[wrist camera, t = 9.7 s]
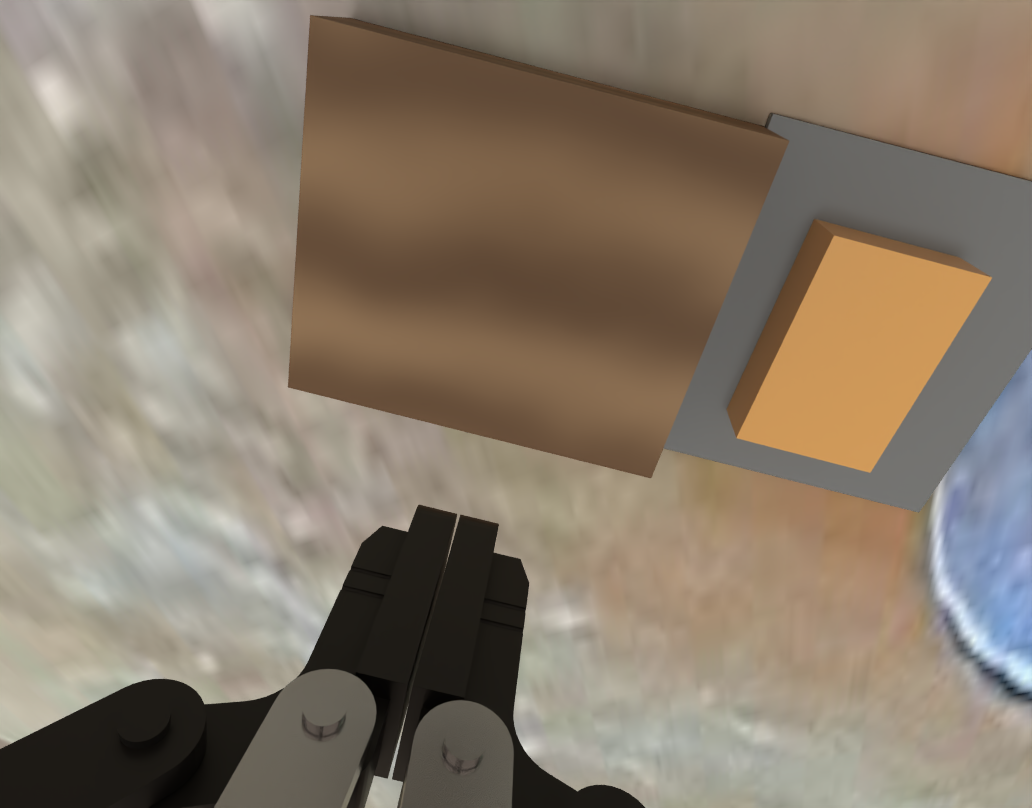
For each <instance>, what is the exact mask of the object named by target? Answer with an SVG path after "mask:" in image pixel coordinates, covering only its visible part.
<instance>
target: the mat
mask: <svg viewBox="0 0 1032 808" xmlns="http://www.w3.org/2000/svg"><path fill="white" fill-rule="evenodd" d="M765 128H767V129H769V130H771V131H773V132H774V133H776V134H778V135H780V136H782V137H784V138H785V139H787V140H789V143H788V146H787V148H786V151H785V153H784V156H783V158H782V161H781V163H780V165H779V168H778V170H777V173H776V175H775V178H774V180H773V182H772V185H771V187H770V190H769V192H768V195H767V197H766V199H765V202H764V204H763V207H762V209H761V212H760V214H759V217H758V219H757V221H756V224H755V226H754V229H753V231H752V234H751V236H750V238H749V241H748V243H747V246H746V248H745V251H744V253H743V255H742V258H741V260H740V263H739V265H738V268H737V270H736V273H735V275H734V277H733V280H732V282H731V285H730V287H729V290H728V292H727V294H726V297H725V299H724V302H723V304H722V307H721V309H720V311H719V314H718V316H717V319H716V321H715V324H714V326H713V329H712V331H711V333H710V336H709V338H708V341H707V343H706V346H705V348H704V350H703V353H702V355H701V358H700V360H699V363H698V365H697V367H696V370H695V372H694V375H693V377H692V380H691V382H690V385H689V387H688V389H687V392H686V394H685V397H684V399H683V402H682V404H681V406H680V409H679V411H678V414H677V416H676V419H675V421H674V423H673V426H672V428H671V431H670V433H669V436H668V438H667V441H666V443H665V445H664V448H665V449H669V450H673V451H677V452H680V453H684V454H688V455H692V456H696V457H700V458H704V459H708V460H712V461H716V462H720V463H724V464H728V465H732V466H736V467H740V468H744V469H748V470H752V471H756V472H760V473H764V474H768V475H772V476H776V477H780V478H784V479H788V480H792V481H796V482H800V483H804V484H808V485H812V486H816V487H820V488H824V489H827V490H831V491H835V492H839V493H843V494H847V495H851V496H855V497H859V498H863V499H867V500H871V501H875V502H879V503H883V504H887V505H891V506H895V507H899V508H903V509H907V510H911V511H915V512H920V510H921V509H922V507H923V506H924V505H925V503H926V502H927V500H928V499H929V497H930V496H931V494H932V493H933V491H934V490H935V489H936V487H937V486H938V484H939V483H940V481H941V480H942V478H943V477H944V476H945V474H946V473H947V471H948V470H949V468H950V467H951V465H952V464H953V462H954V461H955V460H956V458H957V457H958V455H959V454H960V452H961V451H962V449H963V448H964V446H965V445H966V444H967V442H968V441H969V439H970V438H971V436H972V435H973V433H974V432H975V430H976V429H977V428H978V426H979V425H980V423H981V422H982V420H983V419H984V417H985V416H986V415H987V413H988V412H989V410H990V409H991V407H992V406H993V404H994V403H995V401H996V400H997V399H998V397H999V396H1000V394H1001V393H1002V391H1003V390H1004V388H1005V387H1006V385H1007V384H1008V383H1009V381H1010V380H1011V378H1012V377H1013V375H1014V374H1015V372H1016V371H1017V369H1018V368H1019V367H1020V365H1021V364H1022V362H1023V361H1024V359H1025V358H1026V356H1027V355H1028V354H1029V352H1030V351H1031V349H1032V181H1029V180H1025V179H1021V178H1017V177H1013V176H1010V175H1006V174H1002V173H998V172H994V171H991V170H987V169H983V168H979V167H975V166H972V165H968V164H964V163H960V162H956V161H953V160H949V159H945V158H941V157H937V156H933V155H930V154H926V153H922V152H918V151H914V150H911V149H907V148H903V147H899V146H895V145H892V144H888V143H884V142H880V141H876V140H873V139H869V138H865V137H861V136H857V135H853V134H850V133H846V132H842V131H838V130H834V129H831V128H827V127H823V126H819V125H815V124H812V123H808V122H804V121H800V120H796V119H793V118H789V117H785V116H781V115H777V114H773V113H770V116H769V118H768V121H767V124H766V126H765ZM814 219H817V220H821V221H825V222H828V223H832V224H836V225H840V226H843V227H847V228H851V229H855V230H858V231H862V232H866V233H870V234H873V235H877V236H881V237H885V238H888V239H892V240H896V241H900V242H903V243H907V244H911V245H915V246H918V247H922V248H926V249H930V250H933V251H937V252H941V253H945V254H948V255H952V256H956V257H960V258H961V259H963V260H964V261H966V262H968V263H969V264H971V265H973V266H974V267H976V268H978V269H979V270H981V271H982V272H984V273H986V274H987V275H989V276H991V277H992V279H991V281H990V282H989V284H988V285H987V287H986V289H985V290H984V292H983V293H982V295H981V297H980V298H979V300H978V301H977V303H976V305H975V306H974V308H973V309H972V311H971V313H970V314H969V316H968V317H967V319H966V321H965V322H964V324H963V325H962V327H961V329H960V330H959V332H958V333H957V335H956V337H955V338H954V340H953V341H952V343H951V345H950V346H949V348H948V349H947V351H946V353H945V354H944V356H943V357H942V359H941V361H940V362H939V364H938V365H937V367H936V369H935V370H934V372H933V373H932V375H931V377H930V378H929V380H928V381H927V383H926V385H925V386H924V388H923V389H922V391H921V393H920V394H919V396H918V397H917V399H916V401H915V402H914V404H913V405H912V407H911V409H910V410H909V412H908V413H907V415H906V417H905V418H904V420H903V421H902V423H901V425H900V426H899V428H898V429H897V431H896V433H895V434H894V436H893V437H892V439H891V441H890V442H889V444H888V445H887V447H886V449H885V450H884V452H883V453H882V455H881V457H880V458H879V460H878V461H877V463H876V465H875V466H874V468H873V469H872V471H871V473H869V472H865V471H861V470H857V469H854V468H850V467H846V466H842V465H838V464H834V463H830V462H827V461H823V460H819V459H815V458H811V457H807V456H803V455H799V454H796V453H792V452H788V451H784V450H780V449H776V448H772V447H768V446H765V445H761V444H757V443H753V442H749V441H745V440H741V439H738V438H736V436H735V433H734V430H733V427H732V424H731V421H730V419H729V416H728V413H727V410H726V409H727V407H728V405H729V403H730V401H731V398H732V396H733V394H734V392H735V390H736V388H737V385H738V383H739V381H740V379H741V377H742V374H743V372H744V370H745V368H746V366H747V364H748V361H749V359H750V357H751V355H752V353H753V351H754V348H755V346H756V344H757V342H758V340H759V338H760V335H761V333H762V331H763V329H764V327H765V325H766V322H767V320H768V318H769V316H770V314H771V312H772V309H773V307H774V305H775V303H776V301H777V299H778V296H779V294H780V292H781V290H782V288H783V285H784V283H785V281H786V279H787V277H788V275H789V272H790V270H791V268H792V266H793V264H794V262H795V259H796V257H797V255H798V253H799V251H800V249H801V246H802V244H803V242H804V240H805V238H806V236H807V233H808V231H809V229H810V227H811V225H812V223H813V220H814Z"/></svg>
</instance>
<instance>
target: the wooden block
mask: <svg viewBox="0 0 1032 808" xmlns="http://www.w3.org/2000/svg"><path fill="white" fill-rule="evenodd" d="M788 143H789V140H787V139H785V138H784V137H782V136H780V135H778V134H776V133H774V132H773V131H771V130H769V129H767V128H765V127H763V126H760V125H757V124H753V123H749V122H745V121H741V120H738V119H734V118H730V117H726V116H722V115H718V114H715V113H711V112H707V111H703V110H699V109H696V108H692V107H688V106H684V105H680V104H676V103H673V102H669V101H665V100H661V99H657V98H654V97H650V96H646V95H642V94H638V93H634V92H631V91H627V90H623V89H619V88H615V87H612V86H608V85H604V84H600V83H596V82H593V81H589V80H585V79H581V78H577V77H573V76H570V75H566V74H562V73H558V72H554V71H551V70H547V69H543V68H539V67H535V66H531V65H528V64H524V63H520V62H516V61H512V60H509V59H505V58H501V57H497V56H493V55H489V54H486V53H482V52H478V51H474V50H470V49H467V48H463V47H459V46H455V45H451V44H447V43H444V42H440V41H436V40H432V39H428V38H425V37H421V36H417V35H413V34H409V33H405V32H402V31H398V30H394V29H390V28H386V27H383V26H379V25H375V24H371V23H367V22H364V21H360V20H356V19H352V18H342V17H328V16H313V15H310V28H309V44H308V61H307V78H306V95H305V111H304V128H303V145H302V162H301V178H300V195H299V212H298V229H297V245H296V262H295V279H294V296H293V312H292V329H291V346H290V363H289V379H288V387H289V388H293V389H297V390H301V391H305V392H309V393H313V394H317V395H321V396H325V397H329V398H333V399H337V400H341V401H345V402H349V403H353V404H357V405H361V406H365V407H369V408H373V409H377V410H381V411H385V412H389V413H393V414H397V415H401V416H405V417H409V418H413V419H417V420H421V421H425V422H429V423H433V424H437V425H441V426H445V427H449V428H453V429H457V430H461V431H465V432H469V433H473V434H477V435H481V436H485V437H489V438H493V439H497V440H501V441H505V442H509V443H512V444H516V445H520V446H524V447H528V448H532V449H536V450H540V451H544V452H548V453H552V454H556V455H560V456H564V457H568V458H572V459H576V460H580V461H584V462H588V463H592V464H596V465H600V466H604V467H608V468H612V469H616V470H620V471H624V472H628V473H632V474H636V475H640V476H644V477H648V478H651V477H652V475H653V472H654V470H655V467H656V465H657V462H658V460H659V458H660V455H661V453H662V450H663V448H664V445H665V443H666V441H667V438H668V436H669V433H670V431H671V428H672V426H673V423H674V421H675V419H676V416H677V414H678V411H679V409H680V406H681V404H682V402H683V399H684V397H685V394H686V392H687V389H688V387H689V385H690V382H691V380H692V377H693V375H694V372H695V370H696V367H697V365H698V363H699V360H700V358H701V355H702V353H703V350H704V348H705V346H706V343H707V341H708V338H709V336H710V333H711V331H712V329H713V326H714V324H715V321H716V319H717V316H718V314H719V311H720V309H721V307H722V304H723V302H724V299H725V297H726V294H727V292H728V290H729V287H730V285H731V282H732V280H733V277H734V275H735V273H736V270H737V268H738V265H739V263H740V260H741V258H742V255H743V253H744V251H745V248H746V246H747V243H748V241H749V238H750V236H751V234H752V231H753V229H754V226H755V224H756V221H757V219H758V217H759V214H760V212H761V209H762V207H763V204H764V202H765V199H766V197H767V195H768V192H769V190H770V187H771V185H772V182H773V180H774V178H775V175H776V173H777V170H778V168H779V165H780V163H781V161H782V158H783V156H784V153H785V151H786V148H787V146H788Z"/></svg>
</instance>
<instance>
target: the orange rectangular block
mask: <svg viewBox="0 0 1032 808" xmlns="http://www.w3.org/2000/svg"><path fill="white" fill-rule="evenodd" d="M991 279H992V277H991V276H989V275H987V274H986V273H984V272H982V271H981V270H979V269H978V268H976V267H974V266H973V265H971V264H969V263H968V262H966V261H964V260H963V259H961V258H960V257H956V256H952V255H948V254H945V253H941V252H937V251H933V250H930V249H926V248H922V247H918V246H915V245H911V244H907V243H903V242H900V241H896V240H892V239H888V238H885V237H881V236H877V235H873V234H870V233H866V232H862V231H858V230H855V229H851V228H847V227H843V226H840V225H836V224H832V223H828V222H825V221H821V220H817V219H814V220H813V223H812V225H811V227H810V229H809V231H808V233H807V236H806V238H805V240H804V242H803V244H802V246H801V249H800V251H799V253H798V255H797V257H796V259H795V262H794V264H793V266H792V268H791V270H790V272H789V275H788V277H787V279H786V281H785V283H784V285H783V288H782V290H781V292H780V294H779V296H778V299H777V301H776V303H775V305H774V307H773V309H772V312H771V314H770V316H769V318H768V320H767V322H766V325H765V327H764V329H763V331H762V333H761V335H760V338H759V340H758V342H757V344H756V346H755V348H754V351H753V353H752V355H751V357H750V359H749V361H748V364H747V366H746V368H745V370H744V372H743V374H742V377H741V379H740V381H739V383H738V385H737V388H736V390H735V392H734V394H733V396H732V398H731V401H730V403H729V405H728V407H727V409H726V410H727V413H728V416H729V419H730V421H731V424H732V427H733V430H734V433H735V436H736V438H738V439H741V440H745V441H749V442H753V443H757V444H761V445H765V446H768V447H772V448H776V449H780V450H784V451H788V452H792V453H796V454H799V455H803V456H807V457H811V458H815V459H819V460H823V461H827V462H830V463H834V464H838V465H842V466H846V467H850V468H854V469H857V470H861V471H865V472H869V473H871V471H872V469H873V468H874V466H875V465H876V463H877V461H878V460H879V458H880V457H881V455H882V453H883V452H884V450H885V449H886V447H887V445H888V444H889V442H890V441H891V439H892V437H893V436H894V434H895V433H896V431H897V429H898V428H899V426H900V425H901V423H902V421H903V420H904V418H905V417H906V415H907V413H908V412H909V410H910V409H911V407H912V405H913V404H914V402H915V401H916V399H917V397H918V396H919V394H920V393H921V391H922V389H923V388H924V386H925V385H926V383H927V381H928V380H929V378H930V377H931V375H932V373H933V372H934V370H935V369H936V367H937V365H938V364H939V362H940V361H941V359H942V357H943V356H944V354H945V353H946V351H947V349H948V348H949V346H950V345H951V343H952V341H953V340H954V338H955V337H956V335H957V333H958V332H959V330H960V329H961V327H962V325H963V324H964V322H965V321H966V319H967V317H968V316H969V314H970V313H971V311H972V309H973V308H974V306H975V305H976V303H977V301H978V300H979V298H980V297H981V295H982V293H983V292H984V290H985V289H986V287H987V285H988V284H989V282H990V281H991Z"/></svg>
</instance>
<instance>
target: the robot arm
mask: <svg viewBox="0 0 1032 808" xmlns="http://www.w3.org/2000/svg"><path fill="white" fill-rule="evenodd" d="M456 518H457V514H455V513H451V512H447V511H443V510H439V509H435V508H431V507H427V506H422V505H418V507H417V509H416V512H415V514H414V517H413V520H412V522H411V525H410V528H409V531H408V532H406V531H402V530H398V529H393V528H389V527H385V526H382V527H380V528H379V529H378V530H377V531H376V532H374V533H373V534H372V535H371V536H370V537H368V538H367V539H366V540H365V541H364V542H363V543H362V544H361V546H360V548H359V551H358V553H357V555H356V557H355V559H354V562H353V564H352V566H351V570H350V571H349V573H348V575H347V577H346V579H345V581H344V584H343V587H342V590H340V592H339V595H338V597H337V599H336V601H335V604H334V606H333V608H332V610H331V612H330V615H329V617H328V619H327V621H326V623H325V626H324V628H323V630H322V632H321V634H320V637H319V639H318V641H317V643H316V645H315V648H314V650H313V652H312V654H311V656H310V659H309V661H308V663H307V664H306V666H305V668H304V669H303V671H302V672H301V673H300V675H299V676H298V677H297V678H296V679H294V680H293V681H292V682H290V683H289V684H288V685H287V686H286V687H285V688H283V689H281V690H280V691H278V692H276V693H274V694H271V695H269V696H267V697H264V698H260V699H256V700H251V701H243V702H230V703H218V704H205V705H204V703H203V701H202V699H201V697H200V696H199V694H198V693H197V692H196V691H195V690H194V689H193V688H191V687H190V686H188V685H186V684H184V683H182V682H179V681H175V680H169V679H152V680H146V681H142V682H138V683H135V684H132V685H130V686H127V687H125V688H123V689H121V690H119V691H117V692H115V693H113V694H111V695H109V696H107V697H105V698H103V699H101V700H99V701H97V702H95V703H93V704H90V705H88V706H86V707H84V708H82V709H80V710H78V711H76V712H74V713H72V714H70V715H68V716H66V717H64V718H62V719H60V720H58V721H56V722H54V723H52V724H50V725H48V726H46V727H44V728H42V729H40V730H38V731H36V732H34V733H32V734H30V735H28V736H26V737H24V738H22V739H20V740H18V741H16V742H14V743H12V744H10V745H8V746H6V747H4V748H2V749H0V808H364V807H365V804H366V801H367V797H368V794H369V790H370V787H371V784H372V780H373V777H374V775H375V776H379V777H383V778H387V779H388V775H389V772H390V768H391V765H392V761H393V758H394V754H395V750H396V747H397V743H398V740H399V736H400V732H401V729H402V725H403V722H404V718H405V714H406V718H405V723H404V727H403V732H402V736H401V741H400V745H399V750H398V754H397V759H396V763H395V768H394V772H393V777H392V779H393V780H397V781H402V782H403V785H402V789H401V794H400V798H399V802H398V806H397V808H645V807H644V806H643V805H642V804H641V803H640V802H639V801H638V800H637V799H636V798H634V797H633V796H632V795H630V794H629V793H627V792H625V791H623V790H621V789H618V788H616V787H613V786H607V785H593V786H588V787H586V788H583V789H581V790H579V791H578V792H577V791H576V790H574V789H573V788H571V787H569V786H568V785H566V784H565V783H563V782H561V781H560V780H558V779H556V778H555V777H553V776H552V775H550V774H548V773H547V772H546V771H544V770H543V769H541V768H540V767H539V766H538V765H537V764H536V763H535V762H533V761H532V760H531V758H530V757H529V756H528V755H527V753H526V752H525V750H524V749H523V747H522V746H521V744H520V742H519V739H518V737H517V735H516V731H515V727H514V720H513V711H514V702H515V694H516V686H517V678H518V670H519V662H520V653H521V645H522V637H523V629H524V621H525V610H526V605H527V597H528V589H529V581H528V579H527V576H526V573H525V570H524V568H523V565H522V562H521V559H518V558H514V557H509V556H505V555H501V554H497V553H493V552H494V547H495V542H496V537H497V532H498V526H499V524H497V523H493V522H489V521H485V520H481V519H477V518H472V517H468V516H464V515H460V518H459V522H458V525H457V529H456V532H455V536H454V540H453V543H452V547H451V550H450V554H449V549H450V545H451V540H452V536H453V532H454V527H455V523H456ZM448 554H449V557H448ZM447 558H448V561H447ZM446 562H447V565H446ZM445 567H446V568H445ZM444 571H445V572H444ZM407 707H408V709H407ZM406 711H407V713H406Z"/></svg>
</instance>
